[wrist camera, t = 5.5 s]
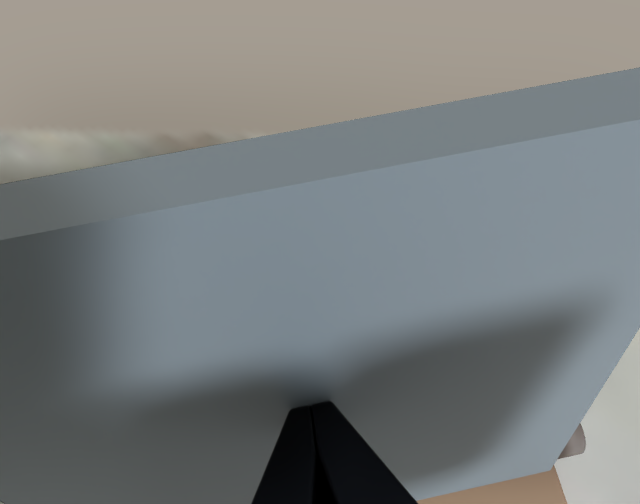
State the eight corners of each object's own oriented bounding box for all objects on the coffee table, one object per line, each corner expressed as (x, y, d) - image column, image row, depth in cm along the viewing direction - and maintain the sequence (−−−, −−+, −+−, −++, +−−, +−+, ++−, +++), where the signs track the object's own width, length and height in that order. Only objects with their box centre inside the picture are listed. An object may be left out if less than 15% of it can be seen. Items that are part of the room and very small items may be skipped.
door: (549, 470, 14) (787, 91, 6) (116, 568, 13) (-341, 304, 5) (515, 403, 16) (662, 29, 7) (126, 488, 15) (-208, 186, 7)
